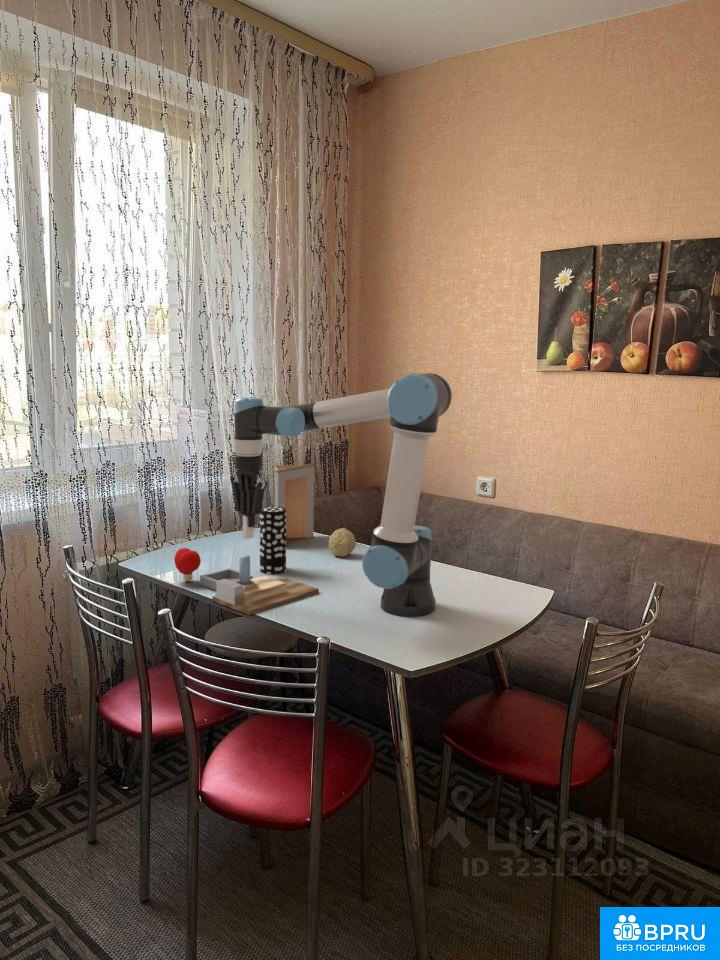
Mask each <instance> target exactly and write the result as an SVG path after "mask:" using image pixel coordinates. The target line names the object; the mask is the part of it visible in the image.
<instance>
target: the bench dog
mask: <svg viewBox="0 0 720 960" xmlns="http://www.w3.org/2000/svg"><path fill="white" fill-rule="evenodd" d="M216 589H217V592H216V595H217V599H220V600H222V601H225V602H228V603H230V604H233V605H237V604H240V603H243V585H242V584H239V583H236V582H233V581H230V580H228V579H222V580H218V581H216Z"/></svg>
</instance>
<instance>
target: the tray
mask: <svg viewBox="0 0 720 960" xmlns="http://www.w3.org/2000/svg"><path fill="white" fill-rule="evenodd" d="M253 578H254V577H253V575H252V574H250V579H253ZM222 579H228V580H230V581H233V582H234V581H237V580H240V578H239V570H236V569H232V568H230V567H229V568H226V569H221V570H218V571H214V572H210V573H206V574H201V575H199V586H201V587H203V588H206V589H209V590H211V591H213V592H216V593H217V589H216V581H218V580H222Z"/></svg>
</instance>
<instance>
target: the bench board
mask: <svg viewBox="0 0 720 960" xmlns="http://www.w3.org/2000/svg"><path fill="white" fill-rule="evenodd" d="M274 579H275V580H278V581H281V582H284V583H286V592H283V593H280V594H276V595H273V596H269V597H266V598H263V599H259V600H256V601H252V602H249V603H246V602H244V601H243V603H240V604H237V605H233V604H230V603H228V602H225V601H222V600H220V599H217V594H216V595H213V596H211V597H212V600H211V601H212V602H215V603H217V604H219V605H222V606H225V607H228V608H230V609H232V610H235V611H237V612H240V613H243V614H245V615H248V616H251V615H254V614H256V613H260V612H262V611H266V610H269V609H272V608H275V607H279V606H282V605H284V604H287V603H291V602H294V601H297V600H300V599H303V598H307V597H310V596H313V595H316V594H319V593H320V589H319V588H318V587H314V586H311V585H308V584H305V583H302V582H299V581H297V580H293V579H290V578H287V577H283V576H281V577H280V576H279V577H278V578H274Z"/></svg>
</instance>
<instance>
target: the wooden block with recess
mask: <svg viewBox="0 0 720 960" xmlns="http://www.w3.org/2000/svg"><path fill="white" fill-rule="evenodd" d="M275 579H276V578H272V577H269V576H267V575H261V576H256V577H253V579H250V584H248V585H244V586H243V601H244V602H246V603H249V602H252V601H256V600H259V599H263V598H266V597H269V596H273V595H276V594H280V593H283V592H286V583H284V582H281V581H278V580H275ZM234 582H236V583H239V584H240V580H237V581H234Z"/></svg>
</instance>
